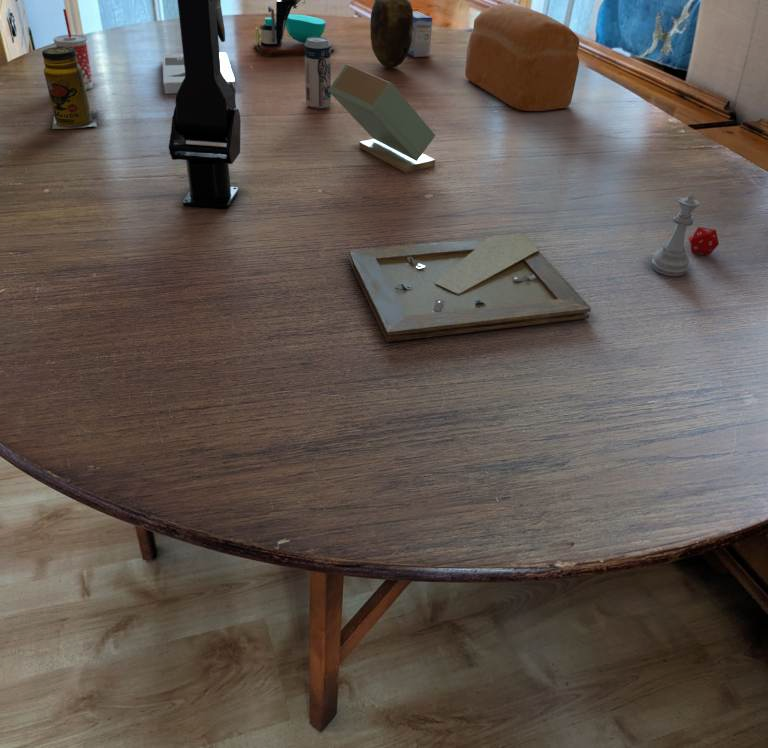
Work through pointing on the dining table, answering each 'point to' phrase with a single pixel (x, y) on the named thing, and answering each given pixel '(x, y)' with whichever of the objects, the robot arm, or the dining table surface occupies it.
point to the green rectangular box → (382, 111)
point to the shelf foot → (396, 156)
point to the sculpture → (391, 31)
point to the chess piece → (676, 242)
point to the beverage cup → (77, 50)
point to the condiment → (67, 89)
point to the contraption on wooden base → (297, 29)
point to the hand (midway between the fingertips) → (251, 43)
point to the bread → (523, 58)
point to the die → (703, 241)
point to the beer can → (318, 72)
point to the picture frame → (463, 287)
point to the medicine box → (420, 35)
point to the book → (176, 71)
